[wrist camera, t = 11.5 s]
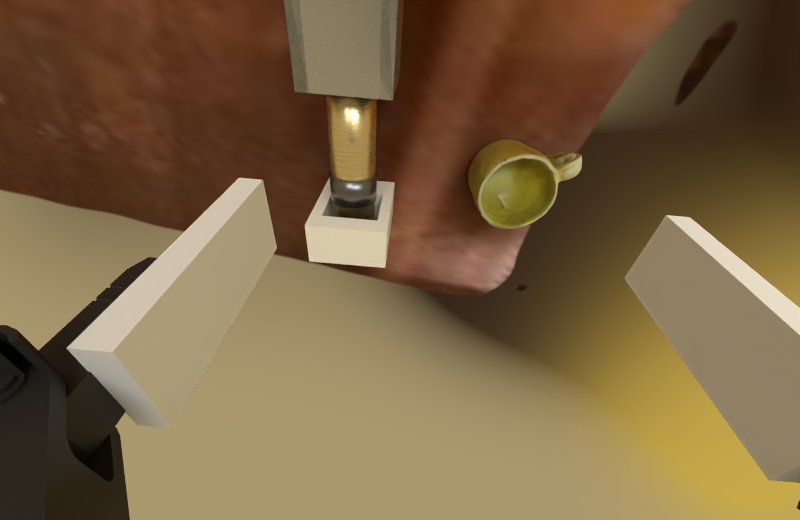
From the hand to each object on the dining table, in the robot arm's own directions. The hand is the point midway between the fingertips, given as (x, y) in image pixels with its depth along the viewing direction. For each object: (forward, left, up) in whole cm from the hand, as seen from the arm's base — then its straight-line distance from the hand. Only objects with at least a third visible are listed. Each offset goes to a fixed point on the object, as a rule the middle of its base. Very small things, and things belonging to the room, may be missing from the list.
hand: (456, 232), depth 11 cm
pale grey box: (-5, -8, -33) cm, 34 cm away
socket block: (+16, -8, -33) cm, 37 cm away
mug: (+10, +12, -33) cm, 37 cm away
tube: (+7, -8, -28) cm, 30 cm away
